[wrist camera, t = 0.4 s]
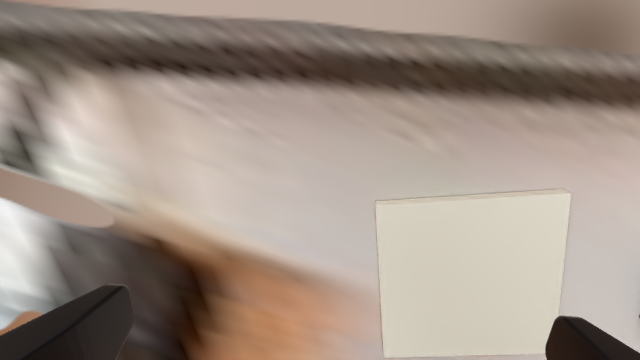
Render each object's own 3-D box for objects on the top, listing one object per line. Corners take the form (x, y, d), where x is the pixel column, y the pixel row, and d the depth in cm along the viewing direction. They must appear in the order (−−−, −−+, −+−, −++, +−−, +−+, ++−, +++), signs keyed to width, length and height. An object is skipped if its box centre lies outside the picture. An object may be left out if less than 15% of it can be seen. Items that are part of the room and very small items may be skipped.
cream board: (547, 344, 23) (554, 353, 22) (382, 348, 24) (383, 357, 23) (562, 188, 20) (571, 193, 20) (374, 201, 21) (375, 205, 21)
